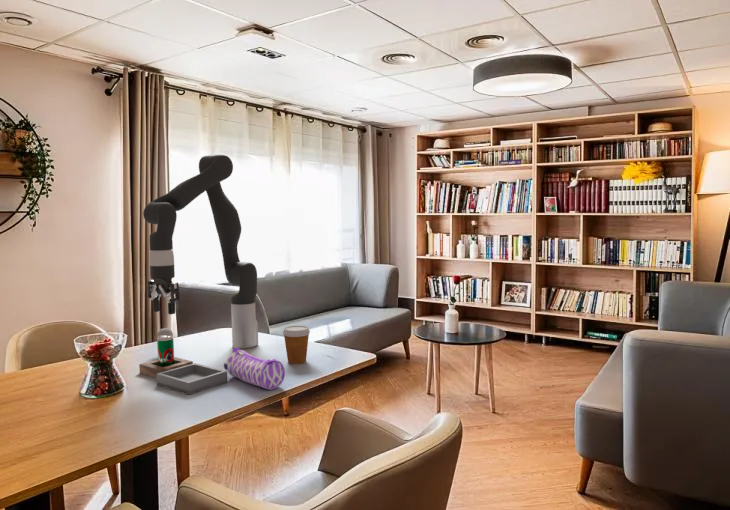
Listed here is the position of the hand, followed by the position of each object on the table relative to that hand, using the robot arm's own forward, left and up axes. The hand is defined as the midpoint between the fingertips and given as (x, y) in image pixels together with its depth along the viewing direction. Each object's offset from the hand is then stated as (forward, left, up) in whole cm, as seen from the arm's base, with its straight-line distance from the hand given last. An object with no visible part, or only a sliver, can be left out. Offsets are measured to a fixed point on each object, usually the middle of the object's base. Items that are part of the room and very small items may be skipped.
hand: (164, 312), depth 176 cm
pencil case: (-9, +33, -20) cm, 40 cm away
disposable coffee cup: (-33, +28, -20) cm, 48 cm away
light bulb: (-13, -20, -20) cm, 31 cm away
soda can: (0, 0, -20) cm, 20 cm away
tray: (+3, +18, -20) cm, 27 cm away
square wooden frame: (0, 0, -20) cm, 20 cm away
